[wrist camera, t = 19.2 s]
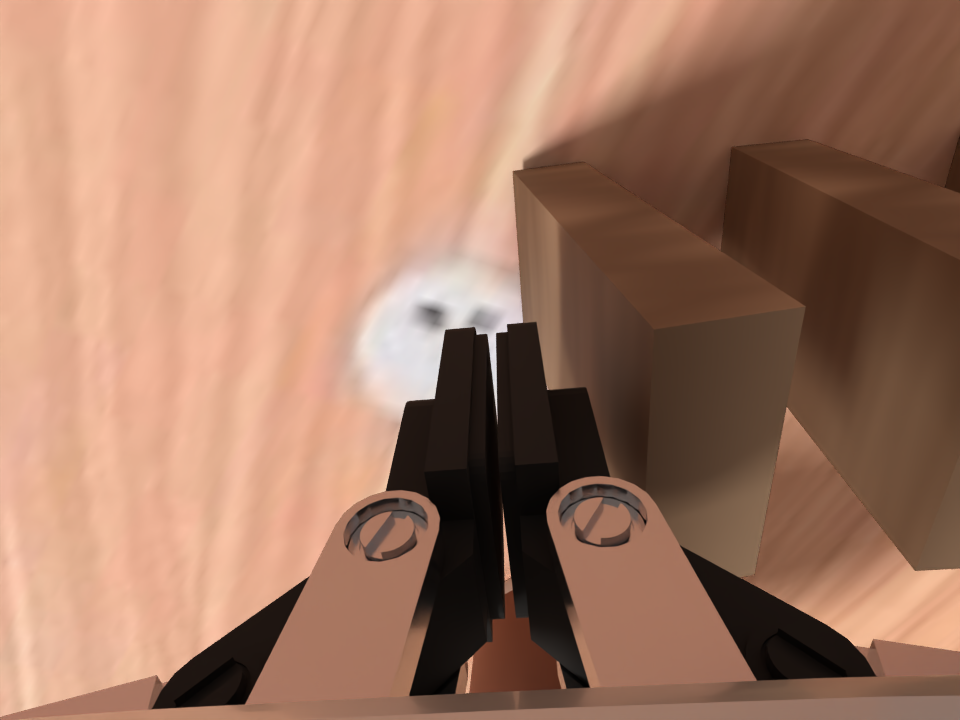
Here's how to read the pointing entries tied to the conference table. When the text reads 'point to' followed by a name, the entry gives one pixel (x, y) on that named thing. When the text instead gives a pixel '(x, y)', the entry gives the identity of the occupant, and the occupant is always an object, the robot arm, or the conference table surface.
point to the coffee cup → (512, 657)
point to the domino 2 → (865, 325)
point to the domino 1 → (661, 352)
